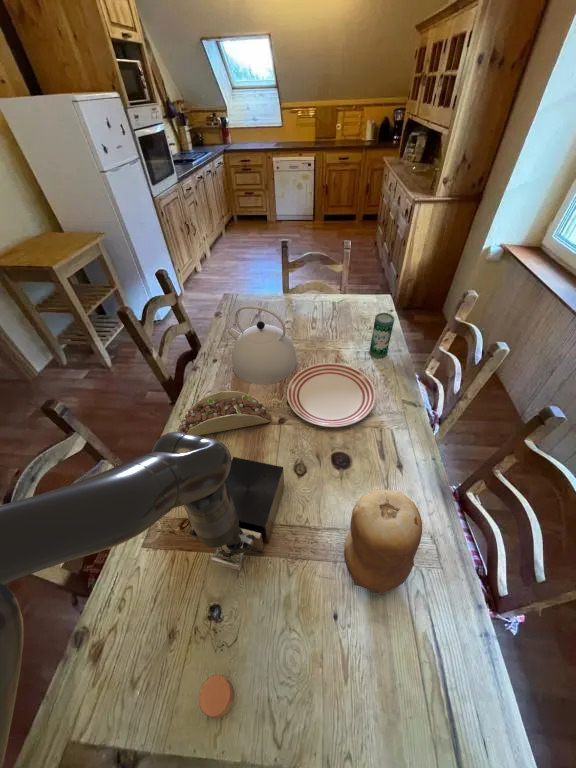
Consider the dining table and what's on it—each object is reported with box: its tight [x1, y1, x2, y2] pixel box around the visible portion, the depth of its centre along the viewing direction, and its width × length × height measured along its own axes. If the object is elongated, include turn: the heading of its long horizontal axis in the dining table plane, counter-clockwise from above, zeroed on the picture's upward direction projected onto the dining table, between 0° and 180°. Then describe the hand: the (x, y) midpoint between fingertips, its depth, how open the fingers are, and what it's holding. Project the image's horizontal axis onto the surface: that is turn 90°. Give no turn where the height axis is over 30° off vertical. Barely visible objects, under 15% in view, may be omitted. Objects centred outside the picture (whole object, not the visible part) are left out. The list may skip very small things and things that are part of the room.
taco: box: [178, 390, 272, 436], centre depth 98 cm, size 10×27×10 cm, turn 102°
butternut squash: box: [343, 489, 423, 595], centre depth 64 cm, size 14×13×25 cm
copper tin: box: [198, 674, 235, 718], centre depth 57 cm, size 5×5×5 cm
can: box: [368, 312, 395, 359], centre depth 118 cm, size 6×6×15 cm
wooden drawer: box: [210, 522, 265, 571], centre depth 76 cm, size 19×11×7 cm, turn 166°
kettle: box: [226, 305, 297, 386], centre depth 114 cm, size 25×23×22 cm
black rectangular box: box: [225, 456, 286, 545], centre depth 80 cm, size 15×13×9 cm
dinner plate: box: [286, 362, 377, 428], centre depth 107 cm, size 27×27×3 cm
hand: (229, 552), depth 70 cm, fingers closed
